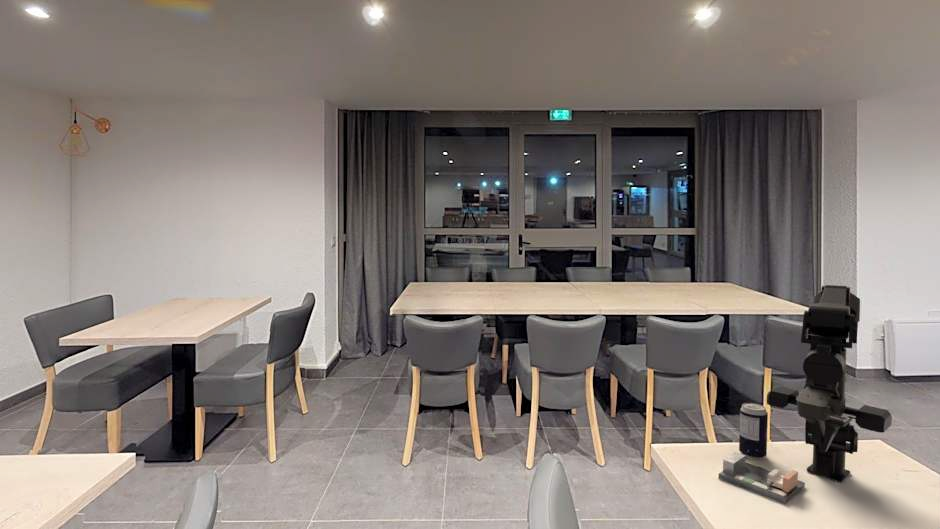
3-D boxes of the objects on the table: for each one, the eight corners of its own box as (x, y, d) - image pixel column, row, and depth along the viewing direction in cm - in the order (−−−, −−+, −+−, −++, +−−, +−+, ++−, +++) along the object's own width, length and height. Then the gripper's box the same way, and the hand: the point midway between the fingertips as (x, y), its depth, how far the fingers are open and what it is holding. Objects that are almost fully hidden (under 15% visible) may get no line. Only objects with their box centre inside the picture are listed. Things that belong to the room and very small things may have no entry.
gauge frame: (739, 464, 111) (739, 449, 111) (804, 487, 101) (805, 471, 101) (718, 478, 105) (718, 462, 105) (785, 504, 95) (786, 487, 95)
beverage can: (770, 461, 112) (771, 411, 112) (743, 459, 114) (745, 410, 113) (761, 451, 118) (762, 402, 117) (735, 449, 119) (736, 401, 118)
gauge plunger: (776, 476, 103) (776, 464, 103) (797, 484, 100) (797, 471, 100) (762, 487, 99) (762, 474, 99) (784, 495, 96) (784, 482, 96)
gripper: (756, 368, 95) (753, 445, 96) (876, 392, 80) (872, 483, 82) (778, 359, 102) (776, 431, 103) (894, 379, 87) (890, 463, 88)
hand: (823, 450), depth 94 cm, fingers closed
